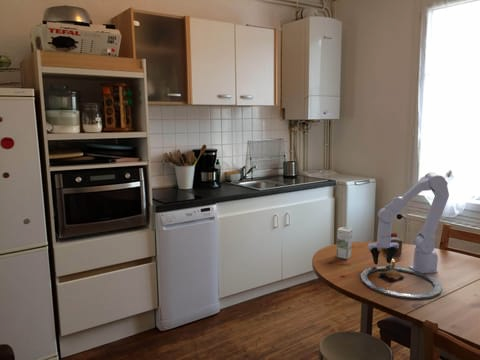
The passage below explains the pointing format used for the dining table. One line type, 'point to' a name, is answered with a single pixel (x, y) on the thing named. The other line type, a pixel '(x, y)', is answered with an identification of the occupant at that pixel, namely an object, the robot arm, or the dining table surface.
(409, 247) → the dining table surface
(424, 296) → the turntable ring
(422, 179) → the robot arm
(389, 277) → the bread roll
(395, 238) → the food item
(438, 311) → the dining table surface
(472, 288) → the dining table surface
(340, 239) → the syrup box
